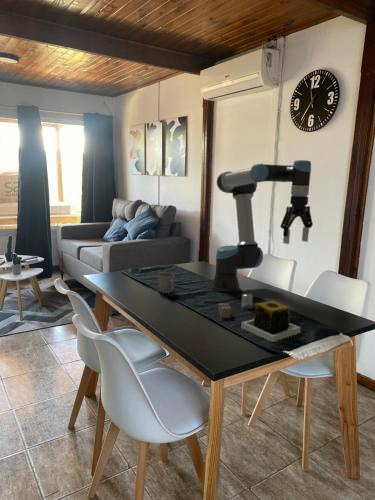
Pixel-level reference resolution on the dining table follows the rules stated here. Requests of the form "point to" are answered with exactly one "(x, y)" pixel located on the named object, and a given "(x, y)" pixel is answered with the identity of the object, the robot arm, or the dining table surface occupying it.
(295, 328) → the tray
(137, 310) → the dining table surface
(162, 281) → the mug
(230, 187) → the robot arm
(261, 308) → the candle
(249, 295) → the grey tin
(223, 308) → the walnut block
